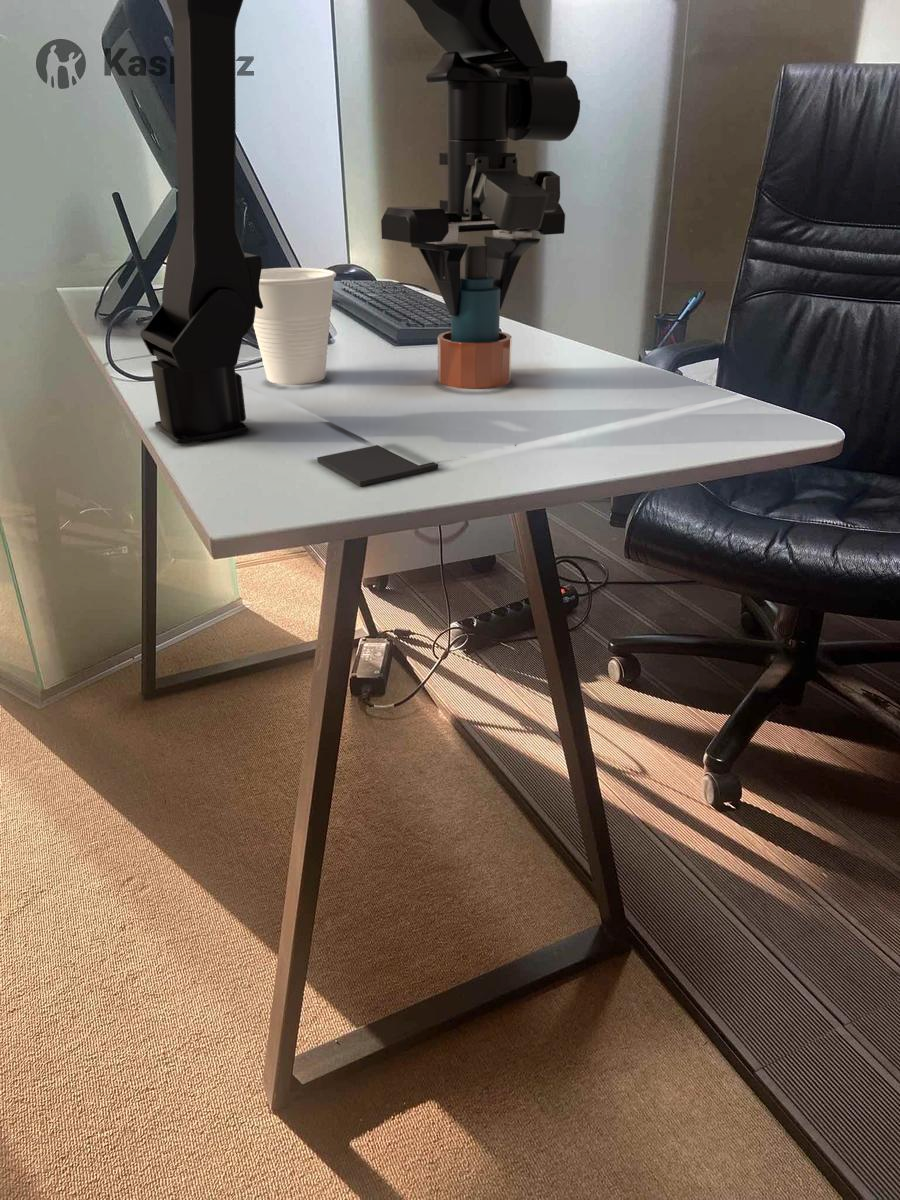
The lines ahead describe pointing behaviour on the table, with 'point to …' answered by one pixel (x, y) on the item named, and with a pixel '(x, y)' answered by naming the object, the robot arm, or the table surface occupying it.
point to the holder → (474, 362)
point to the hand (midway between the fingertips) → (475, 313)
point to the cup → (294, 323)
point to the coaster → (372, 465)
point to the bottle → (477, 301)
